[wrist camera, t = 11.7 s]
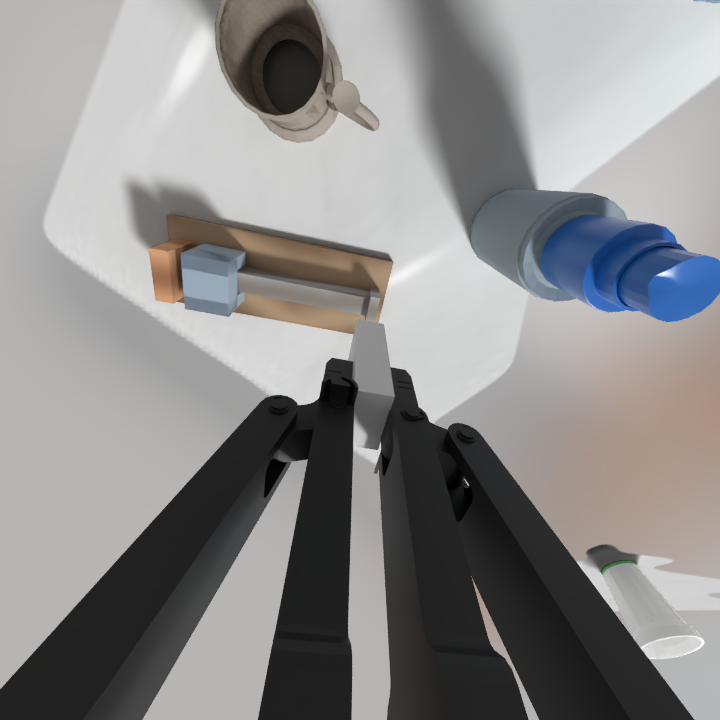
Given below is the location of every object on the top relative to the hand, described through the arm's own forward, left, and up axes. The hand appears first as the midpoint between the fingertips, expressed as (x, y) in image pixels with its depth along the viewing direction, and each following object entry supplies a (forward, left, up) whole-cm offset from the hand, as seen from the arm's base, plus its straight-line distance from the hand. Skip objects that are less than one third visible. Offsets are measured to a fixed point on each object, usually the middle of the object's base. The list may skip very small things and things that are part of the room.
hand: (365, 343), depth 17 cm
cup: (+63, +79, -27) cm, 104 cm away
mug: (-14, -8, -27) cm, 31 cm away
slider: (+6, -17, -25) cm, 31 cm away
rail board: (+6, -10, -26) cm, 29 cm away
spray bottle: (-6, +17, -27) cm, 32 cm away
